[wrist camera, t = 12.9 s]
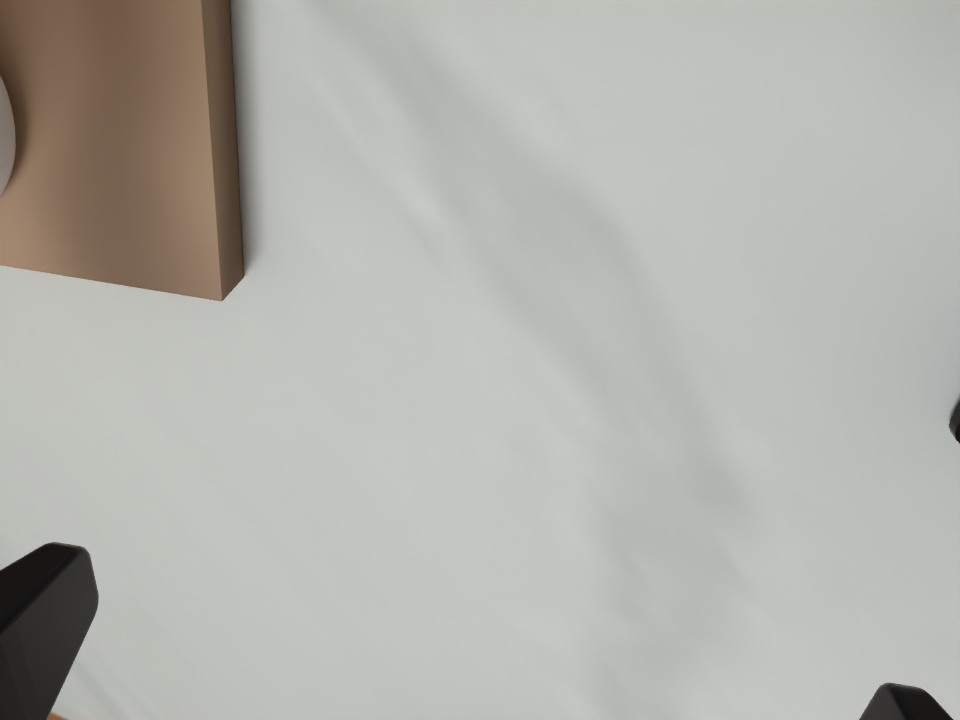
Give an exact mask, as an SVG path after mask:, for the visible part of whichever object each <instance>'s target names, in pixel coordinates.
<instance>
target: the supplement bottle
mask: <svg viewBox="0 0 960 720" xmlns="http://www.w3.org/2000/svg"><path fill="white" fill-rule="evenodd" d="M15 150H16V141H15V124H14V118H13V113H12V108H11V104H10V100H9V96H8V93H7V90H6V87H5V85H4V82H3V80H2V78H1V75H0V196H1V194H2V193H3V191H4V189H5V187H6V185H7V183H8V181H9V178H10V175H11V172H12V168H13V164H14V160H15Z"/></svg>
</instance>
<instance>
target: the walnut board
mask: <svg viewBox="0 0 960 720" xmlns="http://www.w3.org/2000/svg"><path fill="white" fill-rule="evenodd" d="M0 75H1V78H2V80H3V82H4V85H5V87H6V90H7V93H8V96H9V100H10V104H11V108H12V113H13V118H14V124H15V141H16V150H15V160H14V164H13V168H12V172H11V175H10V178H9V181H8V183H7V185H6V187H5V189H4V191H3V193H2V194H1V196H0V265H3V266H9V267H15V268H21V269H27V270H33V271H39V272H45V273H52V274H58V275H64V276H70V277H76V278H82V279H88V280H94V281H100V282H107V283H113V284H119V285H125V286H131V287H137V288H143V289H149V290H156V291H162V292H168V293H174V294H180V295H186V296H192V297H198V298H205V299H211V300H217V301H223V300H224V299H225V297H226V296H227V295H228V294H229V293H230V292H231V291H232V290H233V289H234V287H235V286H236V285H237V284H238V283H239V282H240V281H241V280H242V279H243V278H244V272H243V253H242V234H241V214H240V195H239V176H238V156H237V137H236V118H235V98H234V79H233V60H232V40H231V21H230V2H229V0H0Z"/></svg>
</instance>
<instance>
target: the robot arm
mask: <svg viewBox="0 0 960 720" xmlns="http://www.w3.org/2000/svg"><path fill="white" fill-rule="evenodd" d="M949 428H950V431H951V433H952V434H953V436H954V437H955V439H956V440H957V441H958V442H959V443H960V403H959V405H958V407H957V409H956V411H955V412H954V414H953V416H952V418H951V420H950V424H949ZM98 598H99V597H98V590H97V585H96V581H95V576H94V572H93V567H92V562H91V558H90V554H89V552H88V551H87V550H86V549H85V548H84V547H81V546H76V545H70V544H64V543H57V542H52V543H48V544H45V545H43V546H41V547H39V548H37V549H36V550H34V551H32V552H31V553H29V554H27V555H25V556H24V557H22V558H20V559H19V560H17V561H15V562H14V563H12V564H10V565H8V566H7V567H5V568H3V569H2V570H0V720H47V718H48V716H49V714H50V712H51V710H52V708H53V705H54V703H55V701H56V699H57V697H58V695H59V693H60V690H61V688H62V686H63V684H64V682H65V680H66V677H67V675H68V673H69V671H70V669H71V667H72V664H73V662H74V660H75V658H76V656H77V654H78V651H79V649H80V647H81V645H82V643H83V641H84V638H85V636H86V634H87V632H88V630H89V628H90V625H91V623H92V621H93V619H94V617H95V614H96V611H97V607H98ZM859 720H953V719H952V718H951V717H950V716H949V715H948V713H947V712H946V711H945V710H944V709H943V708H942V707H941V706H940V705H939V704H938V703H937V701H936V700H935V699H934V698H933V697H932V696H931V695H930V694H928V693H927V692H926V691H925V690H923V689H921V688H917V687H913V686H907V685H901V684H895V683H885V684H883V685H881V686H880V687H879V688H878V690H877V691H876V693H875V694H874V696H873V698H872V699H871V701H870V703H869V704H868V706H867V708H866V709H865V711H864V713H863V714H862V716H861V718H860V719H859Z"/></svg>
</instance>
